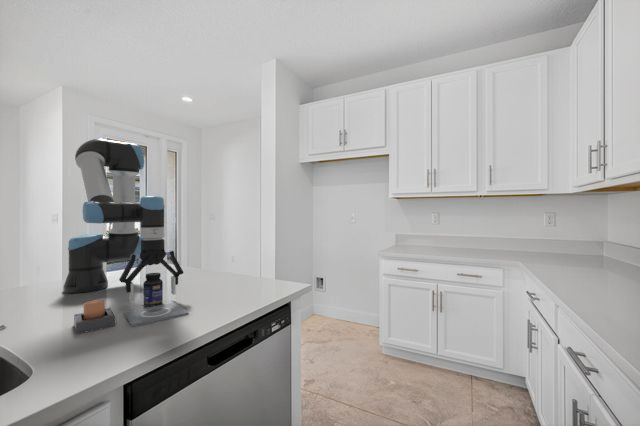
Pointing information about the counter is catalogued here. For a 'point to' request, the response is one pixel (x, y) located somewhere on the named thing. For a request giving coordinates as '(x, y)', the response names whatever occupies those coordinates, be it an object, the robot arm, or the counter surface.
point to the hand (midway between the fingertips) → (153, 297)
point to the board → (154, 314)
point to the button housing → (94, 321)
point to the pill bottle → (152, 290)
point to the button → (94, 309)
